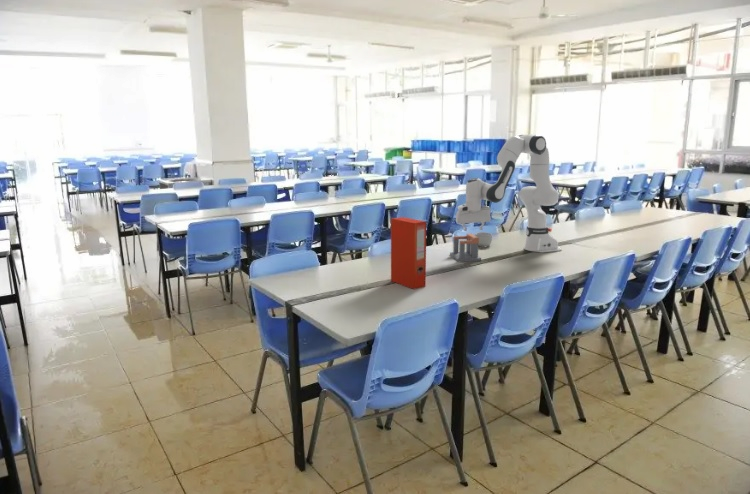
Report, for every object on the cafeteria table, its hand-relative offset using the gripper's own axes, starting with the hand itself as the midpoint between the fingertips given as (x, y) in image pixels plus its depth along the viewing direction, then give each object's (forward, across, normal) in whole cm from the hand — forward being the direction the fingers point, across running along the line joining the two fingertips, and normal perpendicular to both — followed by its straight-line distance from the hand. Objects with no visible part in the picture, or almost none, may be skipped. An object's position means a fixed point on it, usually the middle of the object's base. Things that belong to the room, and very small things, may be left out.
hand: (473, 230), depth 307 cm
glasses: (+6, +4, 0) cm, 8 cm away
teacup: (+17, -14, -29) cm, 36 cm away
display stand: (+16, +5, 0) cm, 17 cm away
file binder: (+15, +48, +47) cm, 69 cm away
